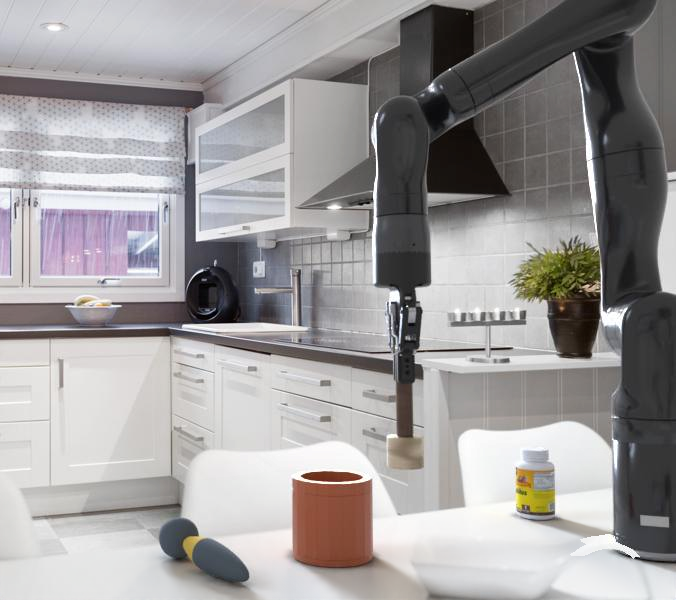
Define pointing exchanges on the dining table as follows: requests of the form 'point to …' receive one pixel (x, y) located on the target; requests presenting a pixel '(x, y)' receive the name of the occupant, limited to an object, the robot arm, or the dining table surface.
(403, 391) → the brown rod with cap
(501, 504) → the dining table surface
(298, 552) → the jar
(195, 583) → the dining table surface
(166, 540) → the paintbrush
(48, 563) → the dining table surface
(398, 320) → the robot arm
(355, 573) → the dining table surface
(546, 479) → the supplement bottle
